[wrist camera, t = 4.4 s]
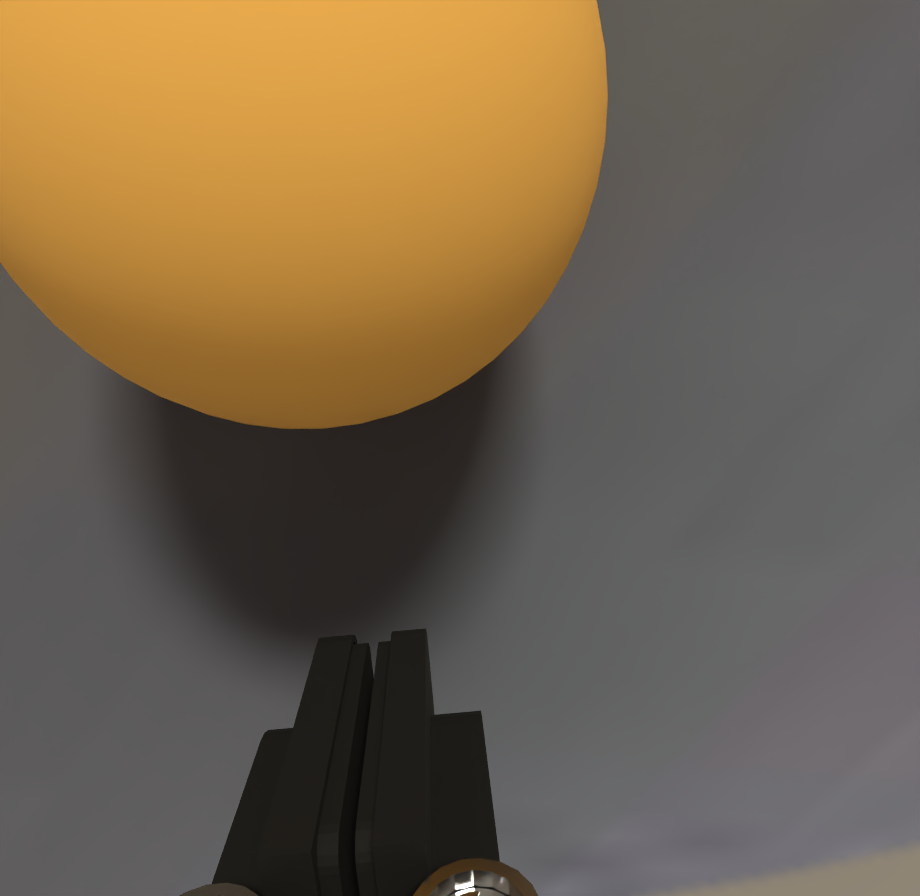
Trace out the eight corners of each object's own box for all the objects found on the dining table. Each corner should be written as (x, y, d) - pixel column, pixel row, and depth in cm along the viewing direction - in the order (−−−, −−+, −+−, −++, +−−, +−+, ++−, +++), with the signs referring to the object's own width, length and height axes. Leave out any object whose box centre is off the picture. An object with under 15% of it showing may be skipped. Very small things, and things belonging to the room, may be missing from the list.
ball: (541, -87, 9) (760, -748, 3) (550, 363, 10) (703, 490, 5) (82, -67, 9) (-617, -732, 3) (165, 388, 10) (-169, 554, 4)
